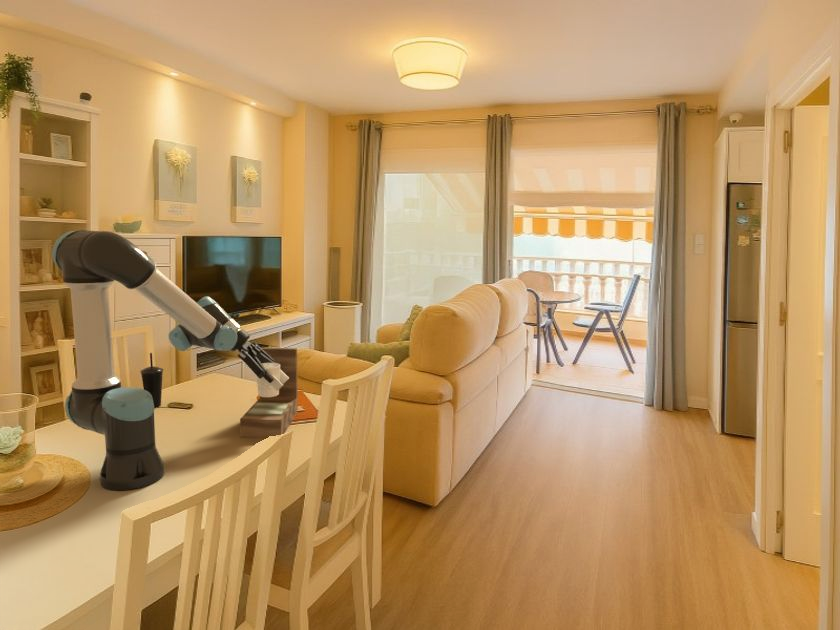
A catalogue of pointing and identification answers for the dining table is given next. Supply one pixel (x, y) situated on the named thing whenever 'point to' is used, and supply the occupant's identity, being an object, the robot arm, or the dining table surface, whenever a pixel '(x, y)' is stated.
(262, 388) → the white cup
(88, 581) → the dining table surface
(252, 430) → the walnut shelf
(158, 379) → the drinking cup
